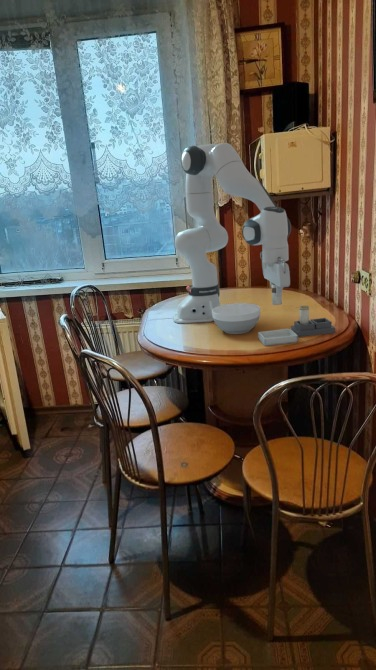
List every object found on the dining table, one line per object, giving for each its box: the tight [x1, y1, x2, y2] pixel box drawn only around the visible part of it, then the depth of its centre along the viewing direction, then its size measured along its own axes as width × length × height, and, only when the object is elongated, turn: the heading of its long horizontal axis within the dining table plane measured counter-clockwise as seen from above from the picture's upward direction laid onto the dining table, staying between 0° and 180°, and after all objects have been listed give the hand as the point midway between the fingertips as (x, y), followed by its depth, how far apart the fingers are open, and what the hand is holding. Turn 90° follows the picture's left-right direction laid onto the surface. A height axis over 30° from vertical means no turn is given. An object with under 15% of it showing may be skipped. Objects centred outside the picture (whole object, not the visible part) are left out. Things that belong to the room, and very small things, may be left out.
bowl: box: [212, 302, 261, 335], centre depth 184 cm, size 19×19×9 cm
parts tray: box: [257, 328, 299, 347], centre depth 169 cm, size 12×9×2 cm
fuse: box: [298, 305, 310, 325], centre depth 173 cm, size 4×4×8 cm
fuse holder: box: [290, 317, 336, 338], centre depth 175 cm, size 14×8×4 cm, turn 97°
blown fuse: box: [270, 282, 283, 306], centre depth 164 cm, size 4×4×8 cm
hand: (276, 295), depth 164 cm, fingers closed on blown fuse, 3 cm apart
